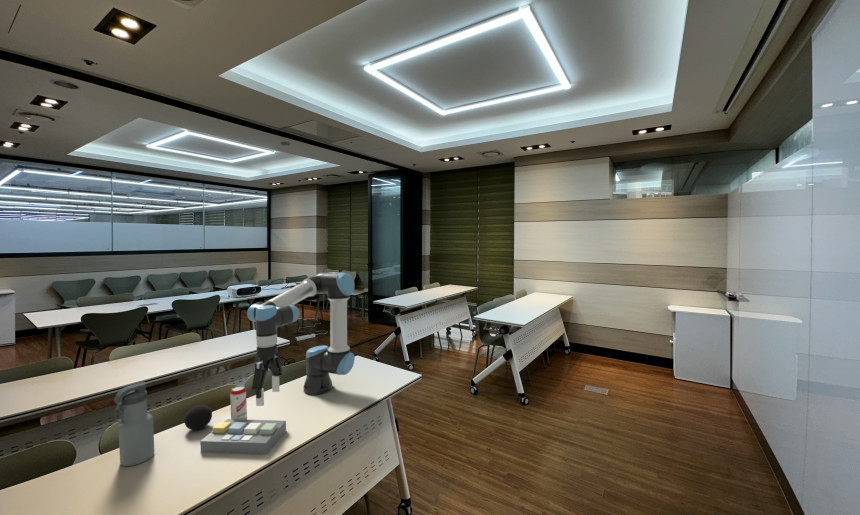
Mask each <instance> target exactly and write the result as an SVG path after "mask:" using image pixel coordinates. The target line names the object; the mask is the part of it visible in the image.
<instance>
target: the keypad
mask: <svg viewBox="0 0 860 515" xmlns="http://www.w3.org/2000/svg"><path fill="white" fill-rule="evenodd" d="M223 422H231V426H232V425H233V424H234V423H235V422H246V427H247V426H248V425H249V424H250V423H262V427H263V426H264V425H265V424H266V423H277V430H276V431H275V432H274V433H273V434H272V435H260V431H259V432H258V433H257V434H256V435H252V434H244V431H243V432H242V433H241V434H229V431H227V432H226V433H225V434H217V433H213V430H212V431H211V432H210V433H208V434H207V435H206V436H205V437H203V438H202V439H201V440H200V441H199V442H200V453H207V454H208V453H210V454H211V453H213V454H236V455H237V454H240V455H243V454H244V455H267V454H268V453H269V452H270V451H271V450H272V448H273V447H275V445H276V444H277V443H278V441H279V440H280V439H281V438H282V436H283V435H284V434H285V433H286V431H287V420H275V419H274V420H270V419H247V420H241V419H231V418H228V419H225V420H224V421H223Z"/></svg>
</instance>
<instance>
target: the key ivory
mask: <svg viewBox="0 0 860 515" xmlns="http://www.w3.org/2000/svg"><path fill="white" fill-rule="evenodd" d="M261 428H262V423H250V424H249V425H248V426H247V427H245V428H244V434H252V435H256V434H257V433H258V432H259V431H260V429H261Z"/></svg>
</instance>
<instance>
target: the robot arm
mask: <svg viewBox="0 0 860 515" xmlns="http://www.w3.org/2000/svg"><path fill="white" fill-rule="evenodd" d="M354 290H355V280H354V278H353V277H352V276H351V274H350V273H347V272H341V271H340V272H339V271H338V272H336V271H335V272H334V271H333V272H332V271H331V272H329V271H323V272H318V273H316V274H313V275H311V276H309V277H306V278H305V279H303V280H302V281H301V283H299V284H297V285H296V286H294V287H291V288H290V289H288V290H286V291H285V292H282V293H280V294H278V295H277V296H275V297H272V298H271V299H269V300H267V301H265V302H264V303H261V304H259V303H258V304H257V303H256V304H255V303H254V304H252V305H250V306H249V307H248V309H247V310H246V311H247V312H246V315H247V318H248V319H249V321H251V322H255V334H256V336H255V339H256V357H258V358H259V362H255V363H254V373H253V379H252V385H251V390H252V391H255V407H263V406H265V396H264V395H265V389H264V388H263V387H264V383H265V379H266V376H267V372H269V371H271V373H272V374H271V375H272V376H271V387H272V388H271V391H272V392H273V393H276V392H277V393H279V392H280V376H282V374H283V373H282V372H283V369H282V366H281V365H282V364H281V360H280V357H279V356H280V354H279V351H278V328H280V327H283V326H286V325H289V324H292V323H294V322H296V321H298V320H299V318H300V310H299V308H298V306H296V304H298V303H299V302H301V301H303V300H305V299H306V298H308V297H314V296H315V295H320V294H321V295H322V294H323V295H325V294H326V296H327V298H326V299H327V300H328V301H330V302H329V303H330V306H329V307H330V312H329V316H330V317H329V318H330V320H329V321H330V323H329V324H330V328H329V329H330V330H329V331H330V333H329V334H330V336H329V337H330V338H329V339H330V340H329V341H330V344H329V345H330V346H328V345H317V346H314V347H311V348H309V349H308V350H307V351H306V354H305V356H306V357H305V362H306V364H305V368H306V378H305V380H304V384H303V393H304V394H306V395H310V396H318V395H323V394H325V393H328V392H330V391H331V390H332V389H333V382H332V378H331V376H330V374H334V375H338V376H346V375H347V374H349V373H350V372H351V370H352V369H353V368H354V363H355V354H354V353H353V352H351V347H350V346H349V345H348V300H349V299H350V298H351V295H352V294H354Z"/></svg>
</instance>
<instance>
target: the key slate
mask: <svg viewBox="0 0 860 515" xmlns="http://www.w3.org/2000/svg"><path fill="white" fill-rule="evenodd" d="M245 427H246V422H235V423H234V424H233V425H232V426H231V427H229V428H228V431H229V434H241V433H242V432H243V431H244V428H245Z"/></svg>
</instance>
